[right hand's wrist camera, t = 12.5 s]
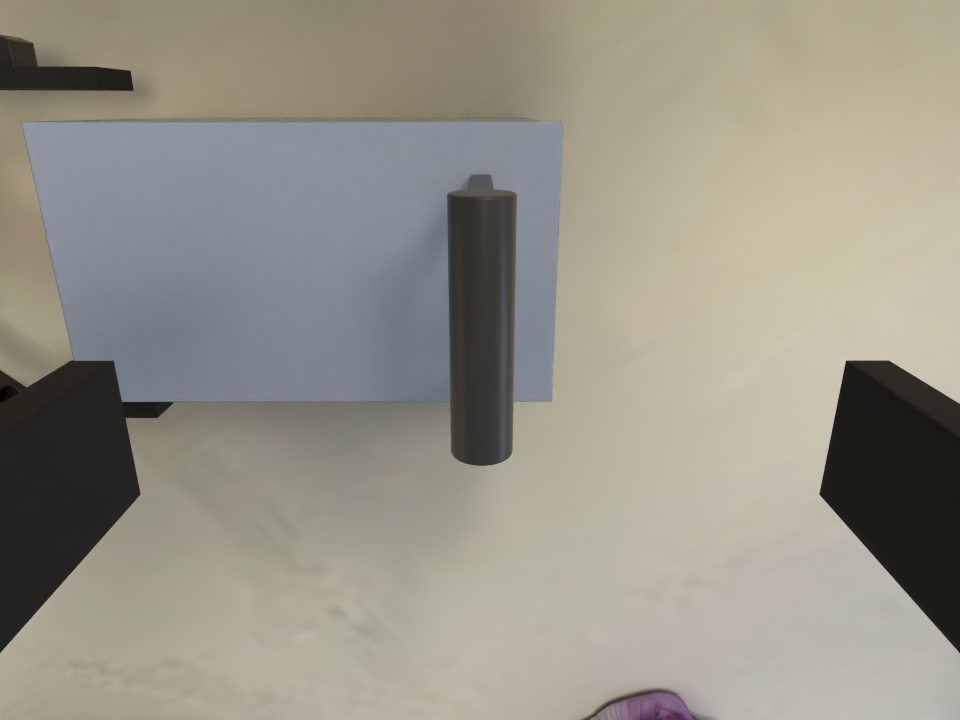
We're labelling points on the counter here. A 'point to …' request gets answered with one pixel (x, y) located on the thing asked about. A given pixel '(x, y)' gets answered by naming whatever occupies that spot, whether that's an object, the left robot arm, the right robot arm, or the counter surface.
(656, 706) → the figurine
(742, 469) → the counter surface
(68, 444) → the right robot arm
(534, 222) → the lid
